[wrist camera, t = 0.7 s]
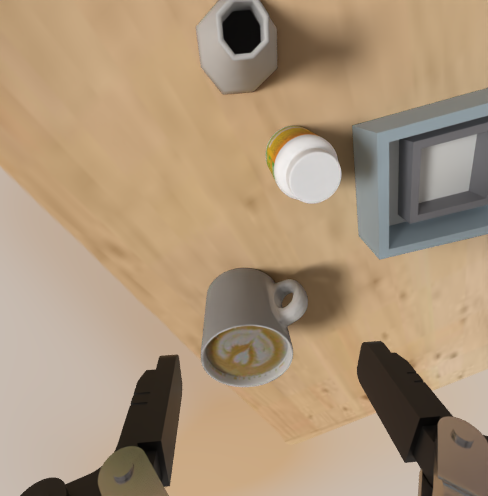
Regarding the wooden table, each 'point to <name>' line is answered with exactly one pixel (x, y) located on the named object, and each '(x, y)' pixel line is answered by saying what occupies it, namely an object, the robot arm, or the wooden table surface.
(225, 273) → the coffee mug
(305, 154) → the supplement bottle
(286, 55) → the wooden table surface
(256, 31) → the flask
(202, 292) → the wooden table surface
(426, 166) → the walled box
